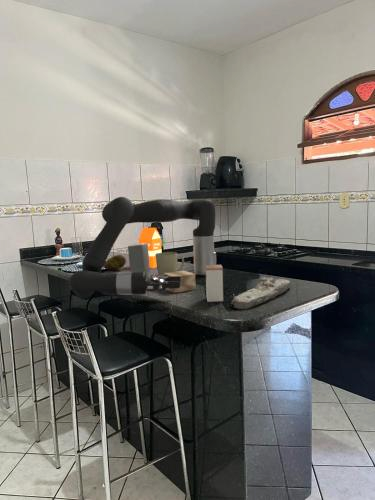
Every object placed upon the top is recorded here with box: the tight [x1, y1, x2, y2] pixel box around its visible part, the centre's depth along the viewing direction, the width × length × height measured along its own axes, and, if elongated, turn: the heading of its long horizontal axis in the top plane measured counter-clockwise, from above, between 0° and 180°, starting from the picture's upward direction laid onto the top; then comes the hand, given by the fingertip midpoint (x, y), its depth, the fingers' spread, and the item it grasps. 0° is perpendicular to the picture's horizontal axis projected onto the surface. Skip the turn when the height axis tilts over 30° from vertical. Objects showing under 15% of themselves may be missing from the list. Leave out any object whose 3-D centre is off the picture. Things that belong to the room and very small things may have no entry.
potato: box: [102, 254, 127, 271], centre depth 189 cm, size 8×13×8 cm, turn 38°
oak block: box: [163, 270, 197, 294], centre depth 145 cm, size 9×9×6 cm
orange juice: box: [138, 227, 163, 269], centre depth 197 cm, size 8×9×20 cm
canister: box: [205, 264, 224, 303], centre depth 127 cm, size 5×5×11 cm
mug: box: [155, 251, 185, 275], centre depth 157 cm, size 11×10×12 cm
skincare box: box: [127, 243, 151, 278], centre depth 160 cm, size 8×7×16 cm
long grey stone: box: [231, 276, 292, 310], centre depth 130 cm, size 35×5×10 cm
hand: (180, 281), depth 127 cm, fingers open, 8 cm apart
